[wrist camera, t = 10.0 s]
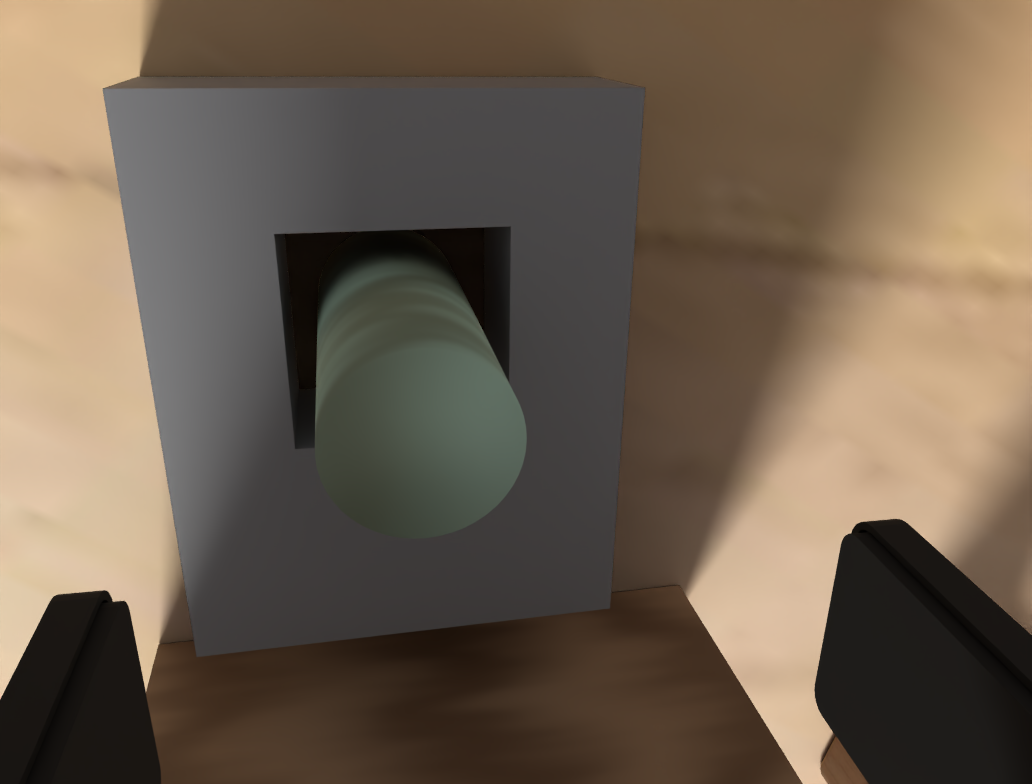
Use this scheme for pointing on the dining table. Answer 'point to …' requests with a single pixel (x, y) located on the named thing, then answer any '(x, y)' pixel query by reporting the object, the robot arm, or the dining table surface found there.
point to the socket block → (291, 411)
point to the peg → (409, 392)
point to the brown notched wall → (471, 706)
